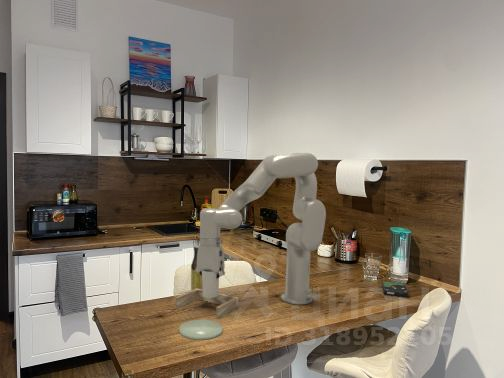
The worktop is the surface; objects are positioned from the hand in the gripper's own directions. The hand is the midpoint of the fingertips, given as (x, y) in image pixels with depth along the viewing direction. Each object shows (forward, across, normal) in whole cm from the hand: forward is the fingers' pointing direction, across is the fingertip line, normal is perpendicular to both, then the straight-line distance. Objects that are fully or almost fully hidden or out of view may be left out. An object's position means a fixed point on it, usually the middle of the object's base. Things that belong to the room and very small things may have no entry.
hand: (210, 289), depth 152 cm
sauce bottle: (+7, +14, -11) cm, 19 cm away
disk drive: (+11, -57, -63) cm, 86 cm away
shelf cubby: (+7, +1, +1) cm, 7 cm away
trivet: (+7, -9, +19) cm, 22 cm away
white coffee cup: (+2, 0, 0) cm, 2 cm away
